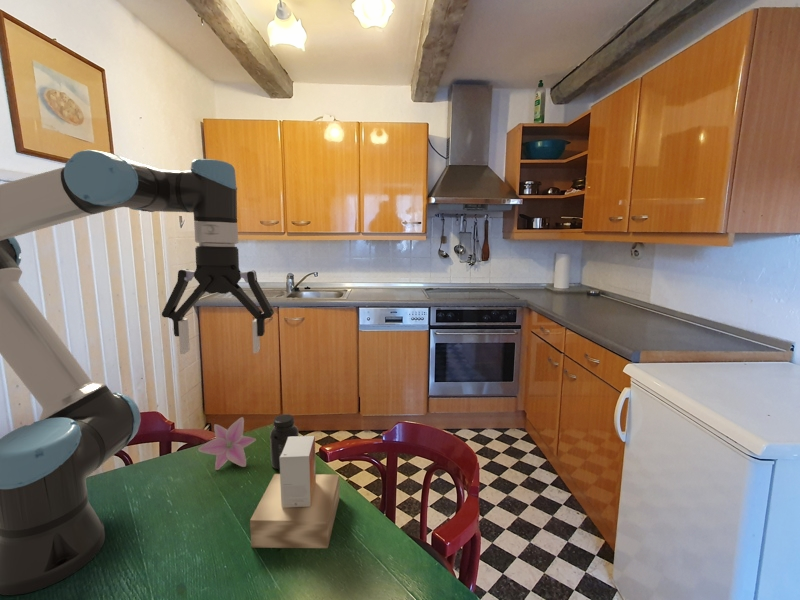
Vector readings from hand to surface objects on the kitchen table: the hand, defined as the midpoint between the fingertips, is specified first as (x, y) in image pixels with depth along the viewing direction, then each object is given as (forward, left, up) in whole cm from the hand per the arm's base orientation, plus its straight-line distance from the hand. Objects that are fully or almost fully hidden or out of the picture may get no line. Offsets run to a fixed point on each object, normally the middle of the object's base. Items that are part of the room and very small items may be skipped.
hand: (221, 351), depth 78 cm
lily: (-4, +16, -34) cm, 38 cm away
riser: (+15, -8, -34) cm, 38 cm away
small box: (+15, -8, -28) cm, 33 cm away
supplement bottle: (+10, +13, -34) cm, 37 cm away
